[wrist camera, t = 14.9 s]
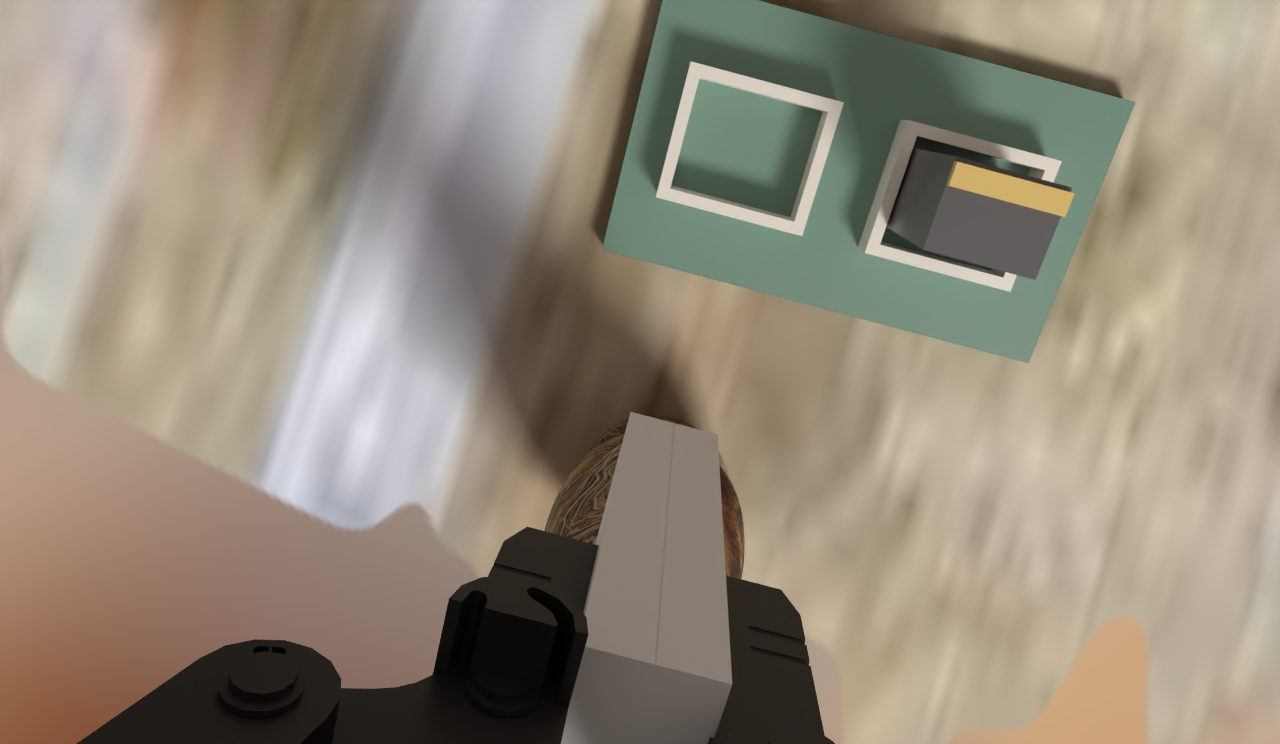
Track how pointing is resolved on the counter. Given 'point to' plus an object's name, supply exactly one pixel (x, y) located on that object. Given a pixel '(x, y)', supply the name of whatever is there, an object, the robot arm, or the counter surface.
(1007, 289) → the board
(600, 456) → the vase
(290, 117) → the counter surface
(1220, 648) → the counter surface
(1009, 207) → the plug
